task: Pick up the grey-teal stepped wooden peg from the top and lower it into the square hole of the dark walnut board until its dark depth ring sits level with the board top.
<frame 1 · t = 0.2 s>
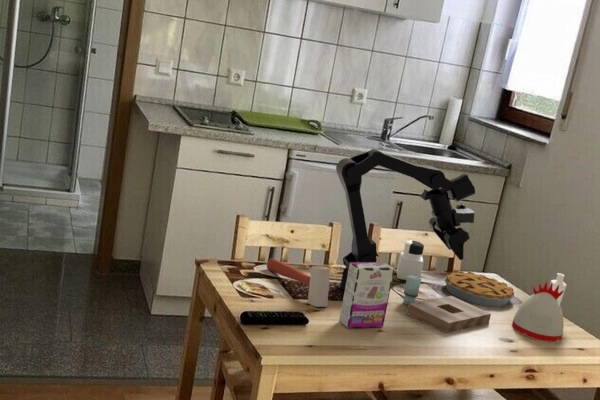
hand: (456, 254, 227), 14 cm above the table, tool tilted 30°, fingers open, 9 cm apart
kitchen timer: (536, 331, 217), on the table
pie: (477, 296, 241), on the table
stepped peg: (408, 304, 220), on the table
mallet: (294, 289, 217), on the table
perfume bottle: (548, 322, 227), on the table
medicine bottle: (407, 278, 246), on the table
candy bar box: (360, 325, 198), on the table
socket board: (447, 318, 214), on the table
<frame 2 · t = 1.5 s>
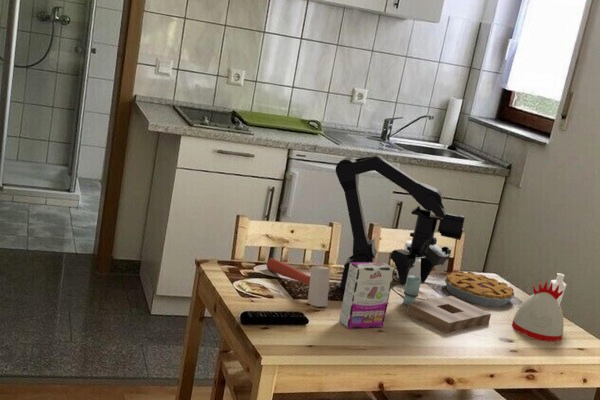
hand: (412, 283, 219), 6 cm above the table, tool pointing down, fingers open, 9 cm apart
nothing on the table moved.
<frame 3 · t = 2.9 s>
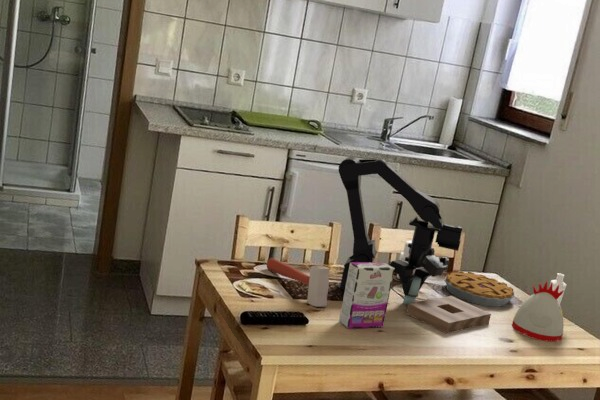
hand: (410, 294, 219), 3 cm above the table, tool pointing down, fingers closed on stepped peg, 4 cm apart
stepped peg: (408, 304, 220), on the table, touching gripper
everything else where it was.
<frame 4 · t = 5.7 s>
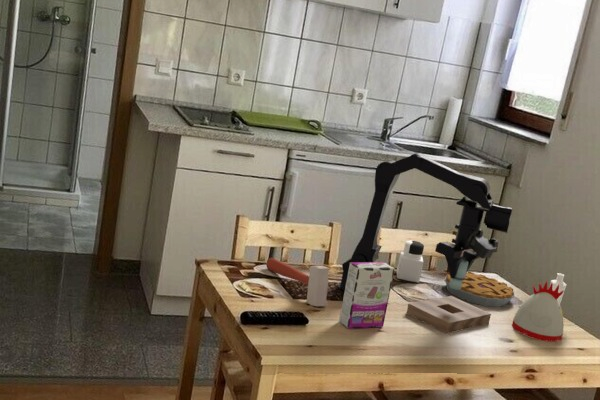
hand: (457, 277, 211), 12 cm above the table, tool pointing down, fingers closed on stepped peg, 4 cm apart
stepped peg: (455, 287, 212), point 9 cm above the table, touching gripper
everything else where it was.
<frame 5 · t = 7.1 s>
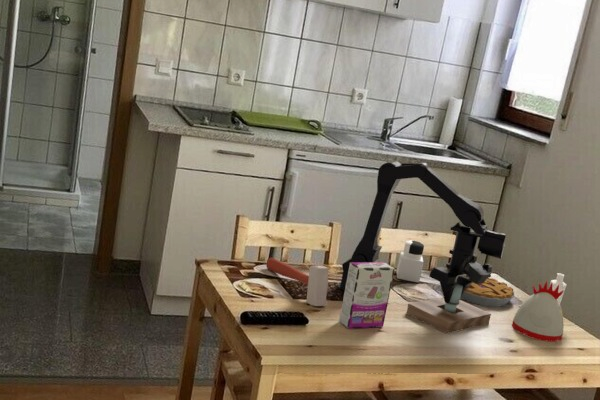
hand: (451, 301, 213), 5 cm above the table, tool pointing down, fingers closed on stepped peg, 4 cm apart
stepped peg: (449, 311, 213), point 2 cm above the table, touching gripper
everything else where it was.
when the fingers open (4 cm above the table, at t = 8.5 s): stepped peg stays where it is, resting in socket board.
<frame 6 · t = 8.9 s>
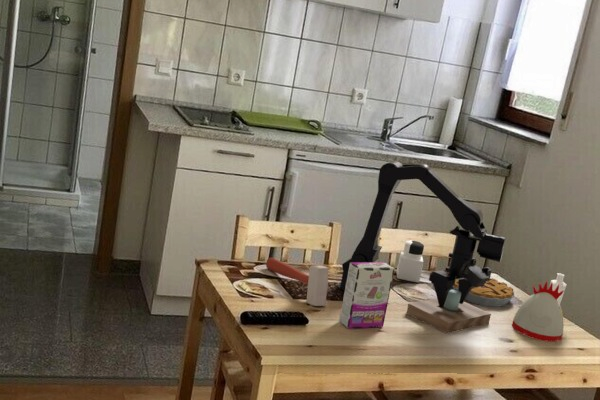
hand: (450, 305, 213), 4 cm above the table, tool pointing down, fingers open, 9 cm apart
stepped peg: (447, 318, 214), resting in socket board
everything else where it was.
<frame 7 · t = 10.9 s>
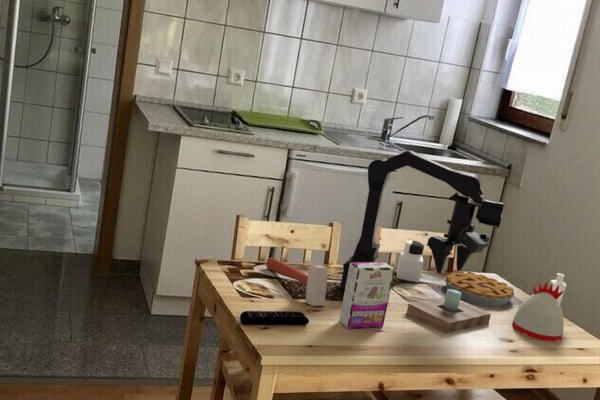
hand: (448, 271, 214), 13 cm above the table, tool pointing down, fingers open, 9 cm apart
nothing on the table moved.
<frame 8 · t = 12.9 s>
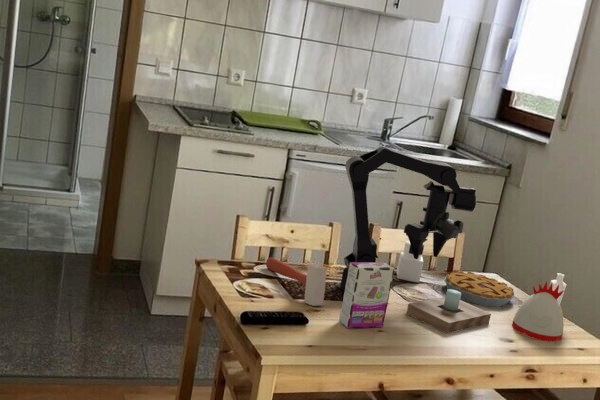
hand: (425, 257, 223), 13 cm above the table, tool pointing down, fingers open, 9 cm apart
nothing on the table moved.
at the end: stepped peg 0.0 cm off-centre on the socket board, point 0.0 cm above the socket board's base; stepped peg tilted 0°; the gripper is holding nothing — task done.
